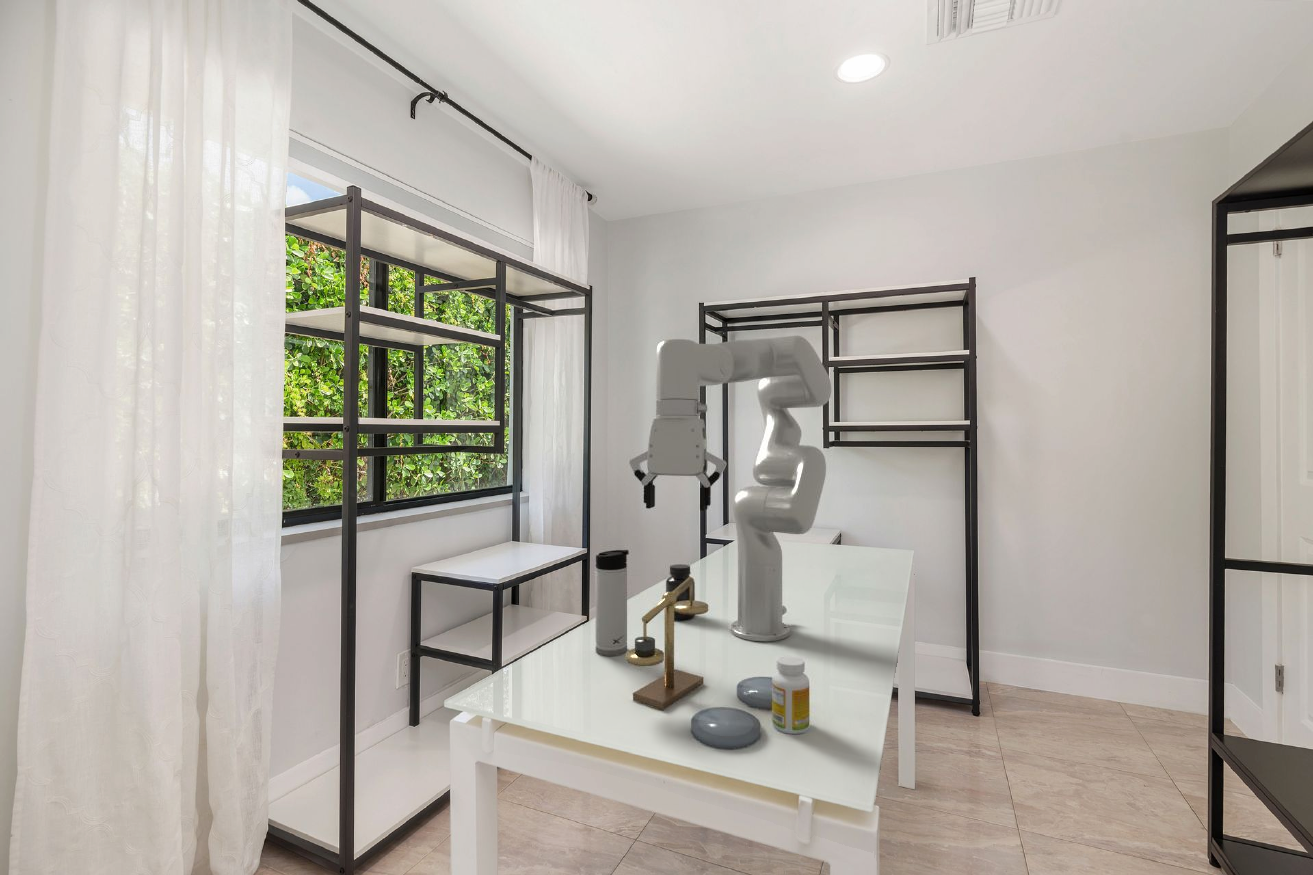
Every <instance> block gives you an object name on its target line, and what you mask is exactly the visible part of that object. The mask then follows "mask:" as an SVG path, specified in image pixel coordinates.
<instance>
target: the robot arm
mask: <svg viewBox="0 0 1313 875" xmlns="http://www.w3.org/2000/svg"><path fill="white" fill-rule="evenodd" d="M655 374H656V377H655V378H656V379H655V380H656V383H655V384H656V385H655V386H656V390H655V391H656V393H655V394H656V395H655V396H656V399H655V400H656V401H655V403H656V404H655V408H656V409H655V418H652V420H651V424H650V431H649V437H648V446H647V451H646V452H643V453H641V454H639V455H637V456H636V457H633V458H631V459H630V460H629V465H630V467H631V469H632V471H633V474H634V476H635V477H636V478H637V479H638V481H640V483H641V485H642V486H643V503H644V504H645V508H646V509H652V508H654V507H656V485H655V484H654V482H655V480H656V479H657V477H658V476H673V477H674V476H675V477H676V476H677V477H678V476H679V477H682V476H683V477H686V476H687V477H696V478H697V479H698V481H699V482H700V483H701V487H700V488H699V510H700V511H702V512H705V511H706V510H708V507H709V506H711V503H712V502H711V501H712V500H711V492H712V490H711V489H712V486H713V484H715V483H716V482H717V481H718V480H719V479H720V478H721V477H722V474H723V472H724V471H725V468H726V467H727V462H726V461H725V460H724V459H722V458H720V457H718V456H716V455H714V454H713V453H711V452H708V444H707V443H708V441H707V430H706V425H705V419H703V418H700V416H701V414H702V413H707V412H708V404H705V403H701V401H700V387H706V386H717V385H722V384H731V383H732V384H734V383H744V382H749V381H754V380H759V381H758V383H757V389H756V390H757V391H756V392H757V397H758V398H757V399H758V402H759V406H760V409H761V413H762V416H763V420H764V430H763V434H762V438H761V439H760V440H761V441H760V443H759V447H758V449H757V451H756V452H757V453H756V455H755V459H754V462H753V467H752V476H753V477H752V478H753V479H754V480H755V482H756V483H758V484H759V485H751V486H746V487H744V488H742V489H740V490H739V491H738V492H737V493H736V494H735V496H734V498H733V502H732V512H733V513H732V514H733V519H734V522H735V529H736V538H737V620H736V621H733V622H731V624H730V631H731V634H733V635H734V636H736V637H737V638H740V639H744V640H748V641H754V642H776V641H780V640H784V639H785V638H788V636H790V634H791V633H790V632H791V630H790V627H789V625H787V624H786V623H785V622H783V615H785V614H786V613H787V612H788V610H787V607H786V606H785V605H783V551H782V547H781V545H780V542H779V540H778V539H777V538H778V537H777V536H776V535H775V534H774V533H780V534H789V535H790V534H791V535H803V534H806V533H808V532H809V531H810V530H811V528H812V526H813V525H814V522H815V520H816V516H817V511H818V509H819V508H818V507H819V506H820V500H821V495H822V493H823V488H824V485H825V480H826V476H827V475H826V474H827V462H826V458H825V455H824V453H823V452H822V450H821V449H820V448H818V447H817V446H813V445H806V444H805V445H804V444H801V445H800V442H801V440H802V429H801V427H800V425H799V423H798V421H797V420H796V419H795V418H794V417H793V415H792V414H791V413H790V412H789V409H795V408H796V409H801V408H804V409H805V408H819V407H823V406H824V405H826V404H827V403H828V402H829V400H830V399H831V396H832V395H831V394H832V384H831V382H832V381H831V379H830V376H829V374H828V372H827V370H826V368H825V367H824V364H823V362H822V361H821V359H820V357H819V355H818V353H817V352H816V350H815V349H814V347H813V345H812V344H811V343H810V342H809V340H807V338H805V337H803V336H802V335H790V336H781V337H770V338H757V339H740V340H739V339H738V340H730V341H724V342H718V343H697V342H696V341H694V340H690V339H684V338H683V339H682V338H675V339H674V338H672V339H666V340H663V341H661V342H659V343H658V345H657V348H656V373H655ZM645 461H646V462H647V463H646V465H647V470H648V472H647V473H645V471H644V470H642V468H641V464H642V463H645ZM709 463H711V464H713V465H715V469H714V471H713V472H712V474H710V476H709V474H708V473H707V472H708V468H709V467H708V466H709ZM761 485H762V486H761Z"/></svg>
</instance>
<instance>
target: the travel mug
mask: <svg viewBox="0 0 1313 875" xmlns="http://www.w3.org/2000/svg"><path fill="white" fill-rule="evenodd" d="M629 553H630V552H629V549H615V550H612V549H611V550H607V551H606V550H605V551H601V552H599V553H598V554H597V555H595V567H594V568H595V652H596V654H599V655H601V656H606V657H616V656H620V655H623V654H624V653H625V654H626V652H627V651H628V564H627V562H628V560H627V559H628V557H627V556H628V555H629Z"/></svg>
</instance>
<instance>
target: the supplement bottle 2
mask: <svg viewBox="0 0 1313 875" xmlns="http://www.w3.org/2000/svg"><path fill="white" fill-rule="evenodd" d="M805 666H806V665H805V660H804V659H803V658H801V657H799V656H796V655H780V656H778V657H777V658H776V669H777V671H775V672H774V673H773V674H772V676H771V677H772V711H771V719H772V720H771V723H772V726H773V727H774V728H775V729H776V730H778V731H780V732H782V733H785V734H793V735H795V734H802V733H806V732H807V731H808V730H809V728H810V723H811V722H810V721H811V720H810V717H811V716H810V695H811V694H810V678H809V677H808V676H807V674H805V670H806V669H805V668H806V667H805Z"/></svg>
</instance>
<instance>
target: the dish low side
mask: <svg viewBox="0 0 1313 875" xmlns="http://www.w3.org/2000/svg"><path fill="white" fill-rule="evenodd" d="M761 726H762V725H761V722H760V719H759V718H758V717H757V716H755V715H754V714H752V713H751V712H749V711H746V710H743V709H740V708H735V707H729V706H728V707H727V706H715V707H708V708H704V709H702V710H699V711H698V712H696V713H695V714H694V715H692V717H691V719H690V733H691V735H692V737H693V738H694V739H695V740H696V741H697V742H699V743H700V744H703V745H705V746H707V747H710V748H714V749H719V750H720V749H721V750H739V749H744V748H748V747H750V746H752V745H754V744H756V743H757V742H758V741H759V740H760V738H761V736H762V735H761V733H762V732H761V731H762V730H761Z"/></svg>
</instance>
